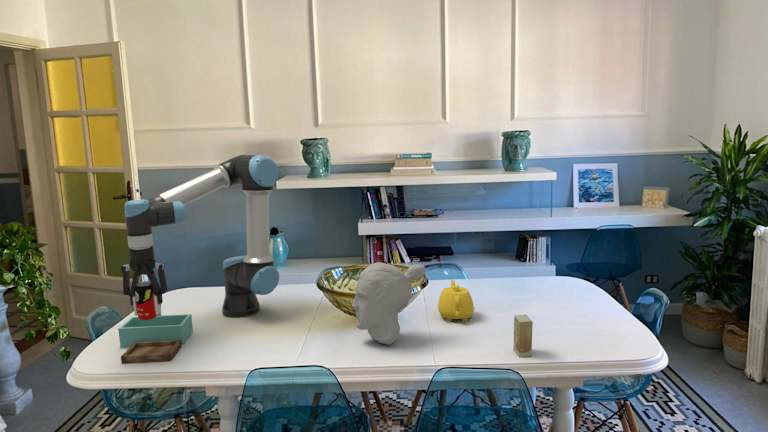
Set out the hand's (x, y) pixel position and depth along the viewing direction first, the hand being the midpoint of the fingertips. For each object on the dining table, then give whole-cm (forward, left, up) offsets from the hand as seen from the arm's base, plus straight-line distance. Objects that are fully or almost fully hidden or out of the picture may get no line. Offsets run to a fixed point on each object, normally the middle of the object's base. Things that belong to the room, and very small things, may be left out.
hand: (147, 313), depth 189 cm
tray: (0, 0, -15) cm, 15 cm away
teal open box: (+3, -14, -15) cm, 21 cm away
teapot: (-109, -24, -15) cm, 112 cm away
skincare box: (-124, +14, -15) cm, 126 cm away
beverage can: (0, 0, -2) cm, 2 cm away
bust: (-82, -3, -15) cm, 83 cm away
